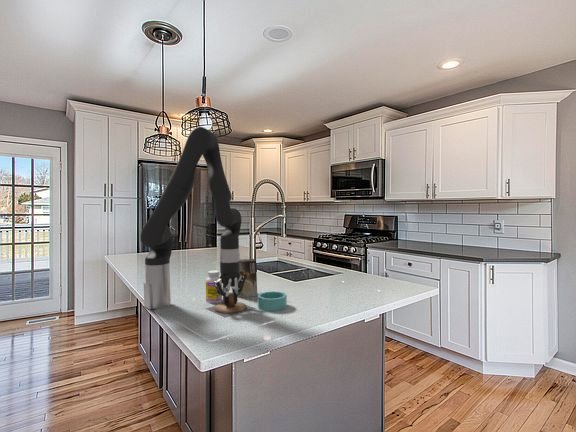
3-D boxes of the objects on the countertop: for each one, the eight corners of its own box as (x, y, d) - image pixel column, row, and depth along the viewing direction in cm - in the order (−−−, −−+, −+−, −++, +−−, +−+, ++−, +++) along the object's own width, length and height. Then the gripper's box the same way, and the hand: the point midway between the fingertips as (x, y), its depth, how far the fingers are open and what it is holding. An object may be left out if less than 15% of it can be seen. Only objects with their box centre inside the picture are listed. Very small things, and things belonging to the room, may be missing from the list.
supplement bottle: (205, 304, 133) (204, 273, 133) (206, 300, 140) (205, 270, 139) (222, 303, 135) (221, 272, 134) (222, 299, 141) (221, 269, 141)
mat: (224, 318, 116) (224, 317, 116) (205, 309, 127) (205, 308, 127) (256, 309, 126) (256, 308, 126) (235, 302, 136) (235, 301, 136)
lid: (225, 315, 118) (225, 300, 118) (208, 308, 126) (208, 293, 126) (252, 308, 126) (252, 293, 126) (234, 302, 135) (234, 288, 135)
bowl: (270, 314, 121) (270, 301, 120) (252, 307, 129) (252, 295, 128) (291, 307, 128) (291, 295, 128) (273, 301, 136) (273, 290, 136)
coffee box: (254, 293, 150) (254, 258, 150) (257, 296, 144) (256, 260, 144) (234, 294, 148) (234, 259, 147) (236, 298, 142) (235, 261, 141)
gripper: (219, 263, 118) (219, 310, 119) (250, 259, 128) (251, 302, 128) (208, 261, 124) (209, 306, 124) (239, 257, 133) (239, 298, 134)
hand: (230, 304), depth 126 cm, fingers closed on lid, 3 cm apart
